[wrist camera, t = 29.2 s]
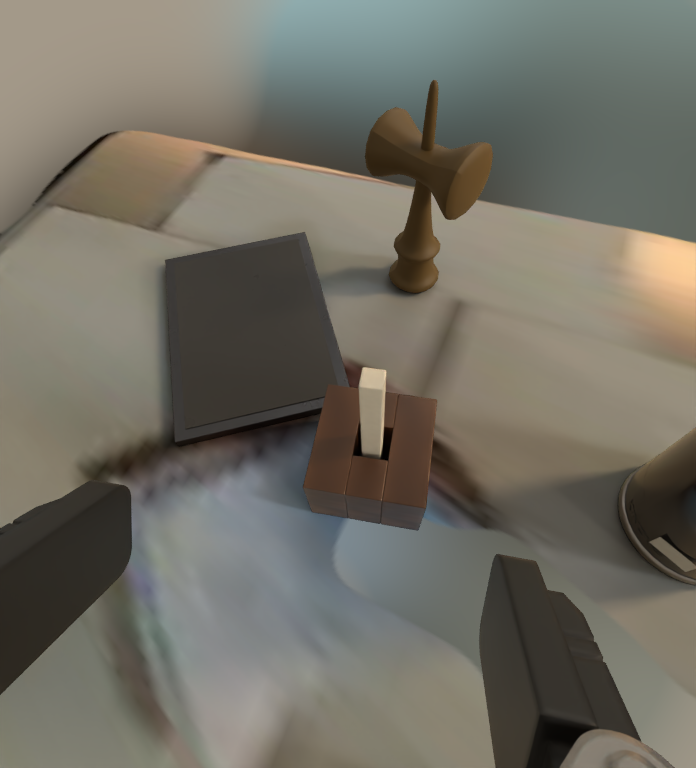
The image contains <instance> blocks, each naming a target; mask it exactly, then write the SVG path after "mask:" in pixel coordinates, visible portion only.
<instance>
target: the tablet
mask: <svg viewBox="0 0 696 768" xmlns="http://www.w3.org/2000/svg"><path fill="white" fill-rule="evenodd" d="M165 263H166V282H167V301H168V320H169V340H170V359H171V378H172V397H173V416H174V435H175V443H176V444H177V445H178V446H183V445H188V444H192V443H196V442H200V441H205V440H209V439H213V438H217V437H222V436H226V435H230V434H234V433H239V432H243V431H247V430H251V429H256V428H260V427H264V426H268V425H273V424H277V423H281V422H285V421H290V420H294V419H298V418H302V417H306V416H311V415H315V414H319V413H321V411H322V407H323V403H324V399H325V395H326V391H327V387H328V384H330V385H337V386H345V387H350V386H349V382H348V379H347V375H346V372H345V368H344V365H343V362H342V358H341V355H340V351H339V348H338V344H337V341H336V337H335V334H334V330H333V327H332V324H331V320H330V317H329V313H328V310H327V306H326V303H325V299H324V296H323V292H322V289H321V286H320V282H319V279H318V275H317V272H316V268H315V265H314V261H313V258H312V254H311V251H310V248H309V244H308V241H307V237H306V234H305V232H303V233H298V234H293V235H288V236H283V237H278V238H273V239H268V240H263V241H258V242H253V243H248V244H243V245H238V246H233V247H228V248H223V249H218V250H213V251H208V252H203V253H198V254H193V255H188V256H183V257H178V258H173V259H168V260H165Z"/></svg>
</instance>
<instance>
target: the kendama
mask: <svg viewBox="0 0 696 768" xmlns="http://www.w3.org/2000/svg"><path fill="white" fill-rule="evenodd" d="M437 105H438V82H437V81H436V80H433V81H432V82H431V84H430V88H429V93H428V99H427V105H426V113H425V120H424V128H423V135H422V134H421V133H420V131H419V130H418V129H417V127H416V125H415V123H414V122H413V120H412V118H411V117H410V115H409V114H408V112H407V111H406V110H404V109H401V108H396V107H395V108H393V109H390V110H388V111H386V112H385V113H384V114H383V115H382V116H381V117H380V118H378V120H377V121H376V123H375V125H374V126H373V128H372V129H371V131H370V134H369V137H368V141H367V144H366V153H365V159H366V166H367V168H368V170H369V172H370V173H371V174H372V175H373V176H380V177H384V176H391V175H397V174H401V175H406V176H409V177H411V178H413V179H415V180H416V184H415V189H414V194H413V199H412V204H411V208H410V212H409V216H408V220H407V223H406V226H405V229H404V231H403V232H401V233H400V234H399V235H398V236H397V237H396V239H395V242H394V248H395V250H396V252H397V254H398V260H396V261H395V263H394V264H393V265H392V266H391V268H390V272H389V276H390V279H391V281H392V283H394V284H395V285H396V286H397V287H398V288H400V289H402V290H404V291H406V292H412V293H419V292H423V291H426V290H428V289H429V288H431V287H432V286H433V285H434V284H435V283H436V281H437V279H438V273H439V272H438V270H437V268H436V266H435V264H434V263H433V258H434V257H435V256H436V255H437V253H438V252H439V250H440V243H439V241H438V240H437V238H436V237H435V236H434V235H433V230H432V217H431V192H432V194H433V196H434V197H435V199H436V201H437V203H438V206H439V208H440V210H441V212H442V213H443V215H444V217H445V218H446V219H448V220H455V219H457V218H458V217H460V216H461V215H463V214H464V213H466V212H467V211H468V210H469V209H470V207H471V206H472V205H473V204H474V203H475V201H476V200H477V198H478V197H479V195H480V194H481V192H482V190H483V188H484V186H485V184H486V182H487V179H488V176H489V173H490V170H491V164H492V157H493V153H492V148H491V145H490V144H488V143H484V142H479V143H478V142H477V143H474V144H470V145H467V146H463V147H460V148H455V149H447V148H446V147H442V146H439V145H437V144H435V143H434V139H435V128H436V117H437Z"/></svg>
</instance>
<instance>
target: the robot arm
mask: <svg viewBox="0 0 696 768" xmlns="http://www.w3.org/2000/svg"><path fill="white" fill-rule="evenodd" d="M618 508H619V515H620V519H621V523H622V526H623V528H624V530H625V532H626V534H627V536H628V538H629V540H630V541H631V543H632V544H633V546H634V547H635V548H636V549H637V551H638V552H639V553H640V554H641V555H642V556H643V557H644V558H645V559H646V560H647V561H648V562H649V563H650V564H652V565H653V566H654V567H655V568H657V569H658V570H660V571H661V572H663V573H665V574H666V575H668V576H670V577H672V578H674V579H676V580H679V581H682V582H685V583H688V584H692V585H696V428H694V429H693V430H692V431H690V432H689V433H687V434H686V435H685V436H683V437H682V438H681V439H679V440H678V441H677V442H675V443H674V444H673V445H671V446H670V447H669V448H667V449H666V450H665V451H663V452H662V453H660V454H659V455H658V456H656V457H655V458H654V459H652V460H651V461H649V462H648V463H646V464H644V465H642V466H641V467H639V468H638V469H637V470H635V471H634V472H633V473H631V474H630V475H629V476H628V477H627V479H626V480H625V481H624V483H623V485H622V487H621V490H620V494H619V500H618ZM131 550H132V529H131V494H130V490H129V489H128V487H126V486H124V485H119V484H113V483H108V482H102V481H97V480H91V481H88V482H87V483H85V484H83V485H82V486H80V487H78V488H77V489H75V490H74V491H72V492H70V493H69V494H67V495H65V496H64V497H62V498H60V499H58V500H55V501H52V502H49V503H46V504H43V505H41V506H38V507H35V508H34V509H32V510H30V511H29V512H27V513H25V514H24V515H22V516H20V517H19V518H17V519H15V520H14V521H13V523H12V524H10V523H9V524H7V525H5V526H4V527H2V528H0V695H1V694H2V693H3V692H4V691H5V690H6V689H7V688H8V687H9V686H10V685H11V684H12V683H13V682H14V681H15V680H16V679H17V678H18V677H19V676H20V675H21V674H22V673H23V672H24V671H25V670H26V669H27V668H28V667H29V666H30V665H31V664H32V663H33V662H34V661H35V660H36V659H37V658H38V657H39V656H40V655H41V654H42V653H43V652H44V651H45V650H46V649H47V648H48V647H49V646H50V645H51V644H52V643H53V642H54V641H55V640H56V639H57V638H58V637H59V636H60V635H61V634H62V633H63V632H64V631H65V630H66V629H67V628H68V627H69V626H70V625H71V624H72V623H73V622H74V621H75V620H76V619H77V618H78V617H79V616H80V615H81V614H83V613H84V612H85V611H86V610H87V609H88V608H89V607H90V606H91V605H92V604H93V603H94V602H95V601H96V600H97V599H98V598H99V597H100V596H101V595H102V594H103V593H104V592H105V591H106V590H107V589H108V588H109V587H110V586H111V585H112V584H113V583H114V582H115V581H116V580H117V579H118V578H119V577H120V576H121V574H122V573H123V572H124V570H125V568H126V566H127V564H128V562H129V559H130V555H131ZM479 648H480V658H481V665H482V673H483V680H484V687H485V695H486V702H487V709H488V716H489V723H490V731H491V738H492V745H493V752H494V760H495V767H496V768H674V767H673V766H672V765H671V764H670V763H669V762H668V761H666V760H665V759H664V758H663V757H662V756H661V755H659V754H658V753H657V752H656V751H654V750H653V749H652V748H650V747H649V746H647V745H645V744H644V743H642V742H641V739H640V737H639V735H638V733H637V731H636V728H635V726H634V724H633V722H632V720H631V717H630V715H629V713H628V711H627V709H626V707H625V704H624V702H623V700H622V698H621V696H620V694H619V691H618V689H617V687H616V685H615V682H614V680H613V678H612V676H611V674H610V672H609V670H608V667H607V665H606V663H605V662H603V656H602V654H601V652H600V650H599V648H598V645H597V643H596V642H594V637H593V634H592V632H591V630H590V628H589V626H588V623H587V621H586V619H585V617H584V615H583V613H582V612H580V610H579V609H578V608H577V607H576V606H575V605H574V604H573V603H572V602H571V601H570V600H569V599H568V598H567V597H566V595H565V594H564V593H560V592H555V591H549V590H547V588H546V585H545V583H544V581H543V577H542V575H541V572H540V570H539V567H538V565H537V563H536V561H533V560H527V559H522V558H516V557H511V556H505V555H500V554H496V556H495V558H494V560H493V563H492V568H491V573H490V578H489V583H488V588H487V592H486V597H485V603H484V607H483V612H482V617H481V624H480V635H479Z"/></svg>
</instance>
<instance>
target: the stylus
mask: <svg viewBox="0 0 696 768" xmlns="http://www.w3.org/2000/svg"><path fill="white" fill-rule="evenodd" d="M385 390H386V370H380V369H373V368H365V367H363V368H362V373H361V378H360V382H359V404H360V425H361V446H362V457H367V458H373V459H379V460H382V453H383V432H384V411H385Z"/></svg>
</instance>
